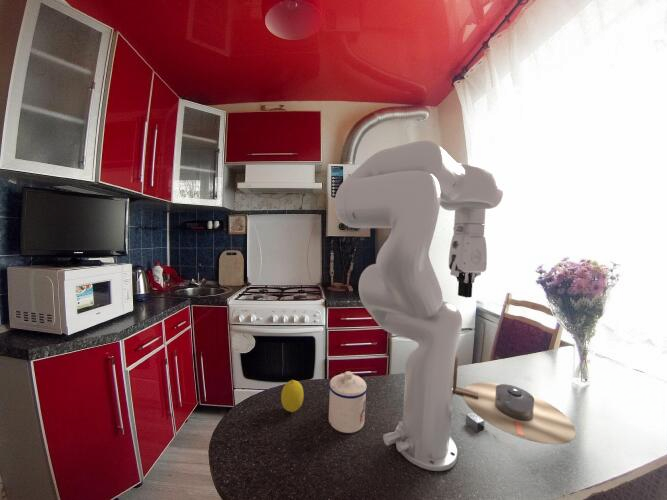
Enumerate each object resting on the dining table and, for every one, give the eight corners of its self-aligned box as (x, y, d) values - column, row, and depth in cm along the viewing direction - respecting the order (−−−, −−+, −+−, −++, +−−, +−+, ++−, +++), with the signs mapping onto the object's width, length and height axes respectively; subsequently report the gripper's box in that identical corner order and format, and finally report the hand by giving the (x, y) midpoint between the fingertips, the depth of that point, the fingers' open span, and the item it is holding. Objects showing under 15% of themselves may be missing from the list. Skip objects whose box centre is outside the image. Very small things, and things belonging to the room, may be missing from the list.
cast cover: (536, 425, 59) (537, 403, 59) (495, 413, 63) (497, 391, 63) (529, 407, 66) (531, 386, 66) (494, 396, 70) (495, 377, 70)
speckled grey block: (476, 433, 58) (477, 422, 58) (465, 424, 61) (466, 414, 61) (483, 430, 59) (484, 420, 59) (472, 421, 62) (472, 412, 62)
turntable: (601, 472, 49) (605, 413, 48) (440, 417, 62) (442, 371, 62) (559, 402, 71) (562, 361, 70) (447, 373, 84) (449, 338, 84)
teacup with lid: (369, 434, 56) (371, 383, 56) (328, 435, 55) (331, 383, 55) (359, 400, 68) (361, 358, 68) (325, 400, 67) (327, 358, 67)
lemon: (276, 411, 62) (277, 380, 62) (293, 401, 66) (294, 372, 66) (289, 423, 59) (291, 389, 58) (307, 412, 63) (308, 380, 62)
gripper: (461, 229, 64) (456, 300, 64) (499, 232, 70) (495, 298, 70) (438, 230, 71) (434, 294, 71) (474, 233, 77) (471, 292, 77)
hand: (464, 296), depth 71 cm, fingers closed
